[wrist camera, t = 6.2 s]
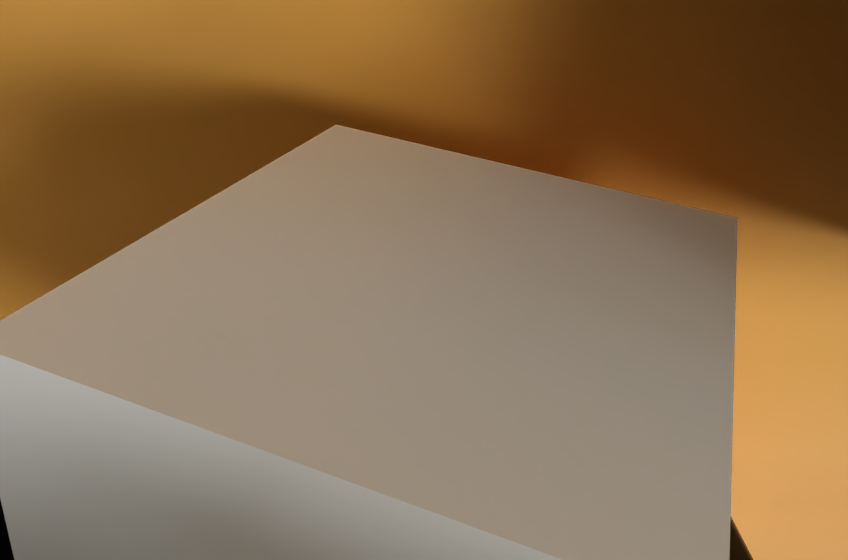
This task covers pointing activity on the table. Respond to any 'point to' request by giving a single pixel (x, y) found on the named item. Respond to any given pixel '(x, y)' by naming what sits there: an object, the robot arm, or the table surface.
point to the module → (382, 373)
